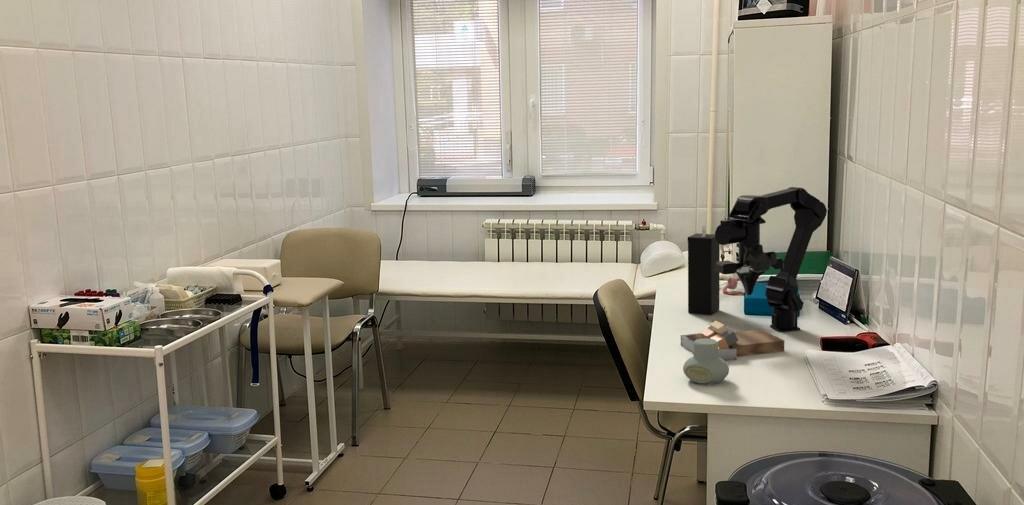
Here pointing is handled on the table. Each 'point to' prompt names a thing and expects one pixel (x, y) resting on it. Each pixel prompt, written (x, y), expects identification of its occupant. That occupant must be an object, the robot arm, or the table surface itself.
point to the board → (757, 343)
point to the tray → (689, 339)
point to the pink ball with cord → (731, 286)
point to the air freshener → (706, 363)
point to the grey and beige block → (724, 332)
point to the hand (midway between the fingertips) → (749, 294)
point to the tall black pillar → (703, 273)
